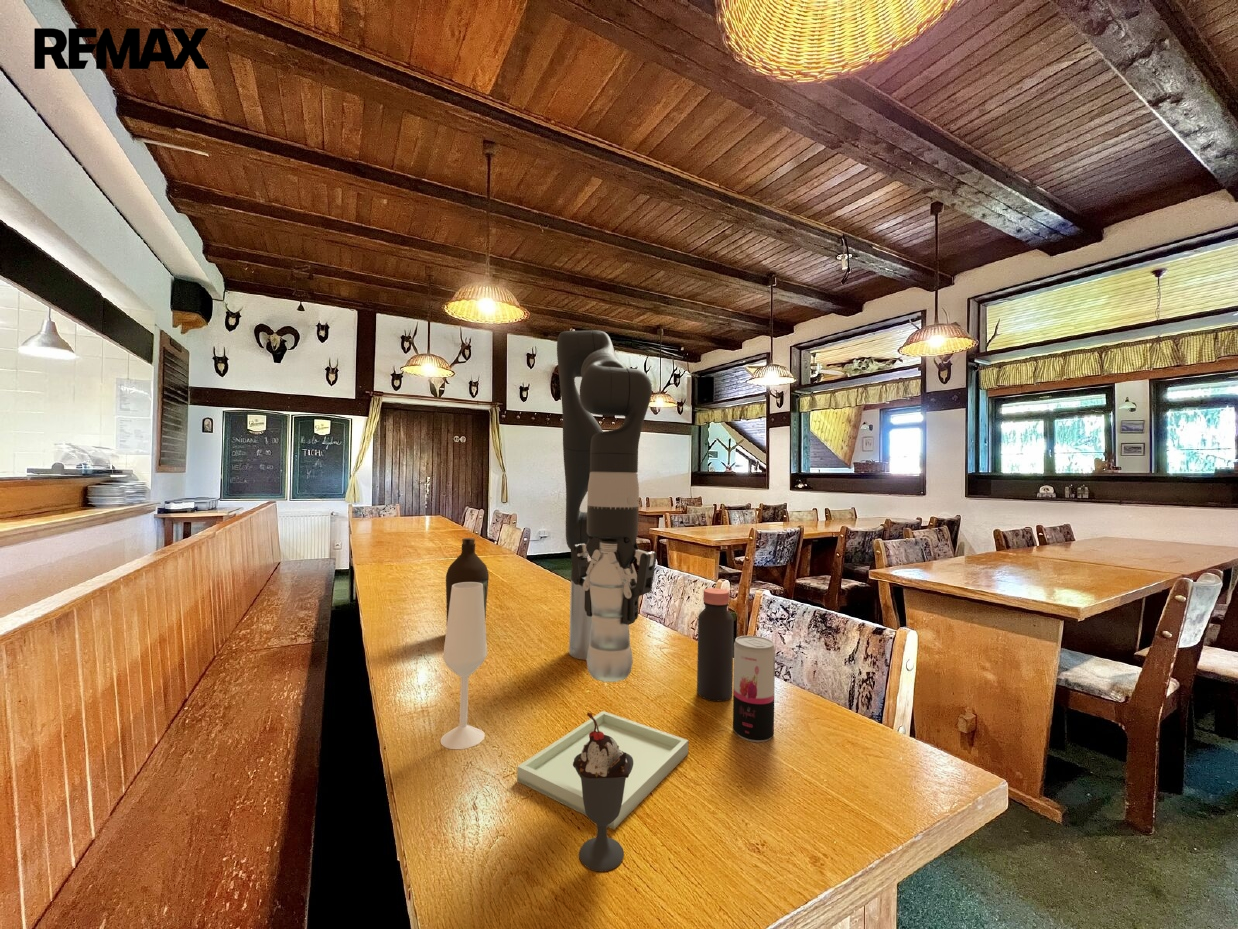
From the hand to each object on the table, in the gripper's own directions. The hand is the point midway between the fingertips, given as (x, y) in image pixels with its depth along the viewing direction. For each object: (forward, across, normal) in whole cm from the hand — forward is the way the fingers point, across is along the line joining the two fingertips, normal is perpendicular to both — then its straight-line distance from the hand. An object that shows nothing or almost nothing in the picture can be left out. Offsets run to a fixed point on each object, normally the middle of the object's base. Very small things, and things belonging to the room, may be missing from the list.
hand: (610, 618), depth 72 cm
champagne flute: (+21, +23, +7) cm, 32 cm away
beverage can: (+21, -14, -22) cm, 34 cm away
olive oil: (+21, +63, -26) cm, 71 cm away
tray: (+21, 0, 0) cm, 21 cm away
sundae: (+21, -9, +14) cm, 27 cm away
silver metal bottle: (+9, 0, 0) cm, 9 cm away
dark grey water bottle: (+21, -3, -32) cm, 39 cm away
